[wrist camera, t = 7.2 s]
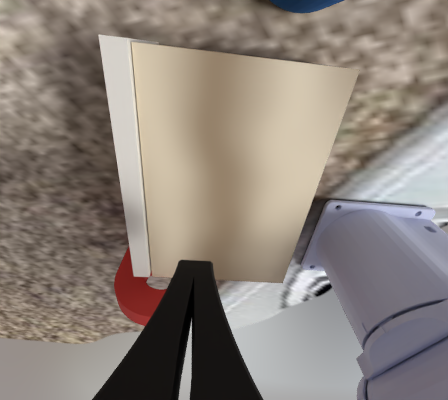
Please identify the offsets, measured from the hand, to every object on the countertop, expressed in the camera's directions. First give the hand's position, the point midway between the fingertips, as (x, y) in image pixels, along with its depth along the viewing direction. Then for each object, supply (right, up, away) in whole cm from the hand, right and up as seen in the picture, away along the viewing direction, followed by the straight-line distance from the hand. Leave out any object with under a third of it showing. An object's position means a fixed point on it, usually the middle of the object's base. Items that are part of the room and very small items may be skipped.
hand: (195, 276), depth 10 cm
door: (-4, +7, +6) cm, 10 cm away
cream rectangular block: (+1, +6, +7) cm, 10 cm away
